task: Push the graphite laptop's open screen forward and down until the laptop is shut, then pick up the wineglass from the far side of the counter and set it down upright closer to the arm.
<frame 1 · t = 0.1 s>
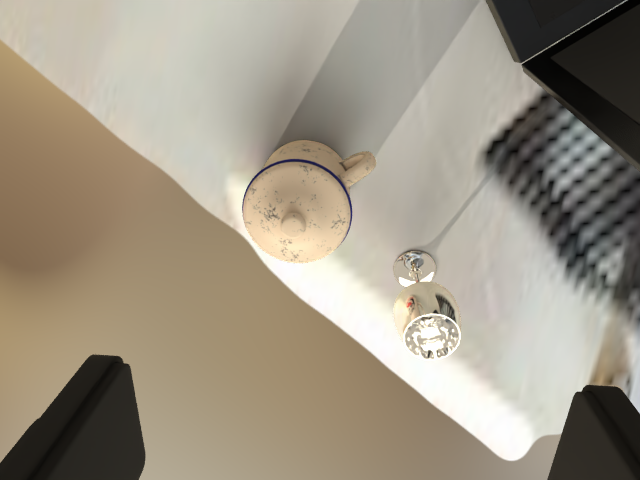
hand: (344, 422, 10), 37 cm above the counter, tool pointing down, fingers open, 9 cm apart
wineglass: (414, 268, 50), on the counter
teacup with lid: (318, 174, 47), on the counter
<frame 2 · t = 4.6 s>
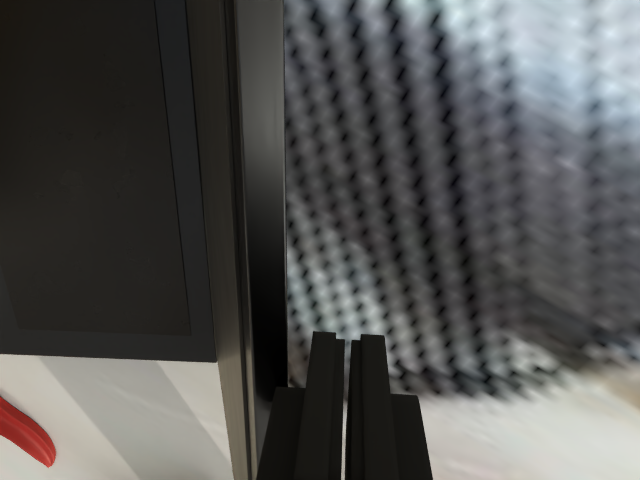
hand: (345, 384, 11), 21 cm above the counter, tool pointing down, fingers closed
laptop: (47, 152, 31), on the counter
cayenne pepper: (14, 415, 41), on the counter
laptop screen: (223, 227, 20), point 12 cm above the counter, hinge at 108.2°, touching gripper
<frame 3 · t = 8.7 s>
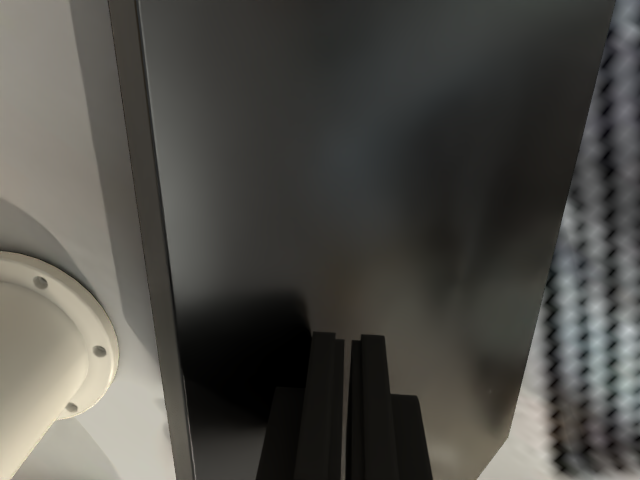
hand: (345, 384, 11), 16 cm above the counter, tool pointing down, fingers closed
laptop screen: (447, 277, 16), point 10 cm above the counter, hinge at 49.6°, touching gripper
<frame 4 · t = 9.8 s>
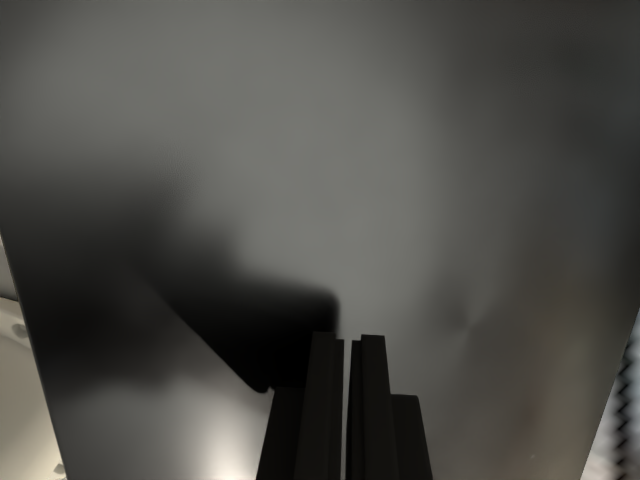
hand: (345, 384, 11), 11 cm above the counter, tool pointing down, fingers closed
laptop screen: (456, 319, 14), point 8 cm above the counter, hinge at 33.3°, touching gripper
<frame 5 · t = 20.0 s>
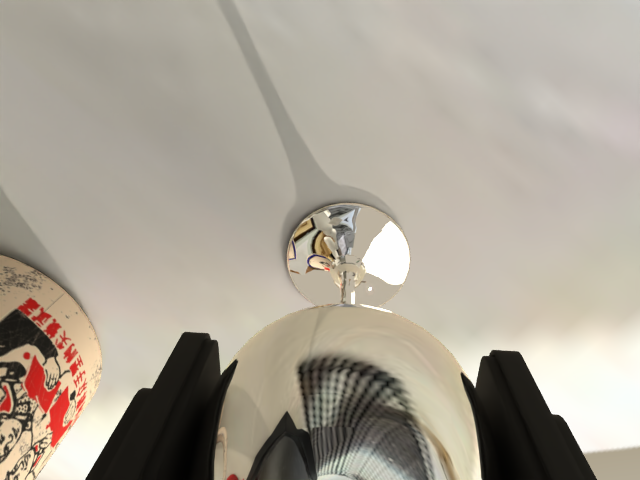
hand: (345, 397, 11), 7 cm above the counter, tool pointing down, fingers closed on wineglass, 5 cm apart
wineglass: (348, 258, 17), on the counter, touching gripper
when the fingers open (7 cm above the counter, at t = 27.8 s): wineglass stays where it is, on the counter.
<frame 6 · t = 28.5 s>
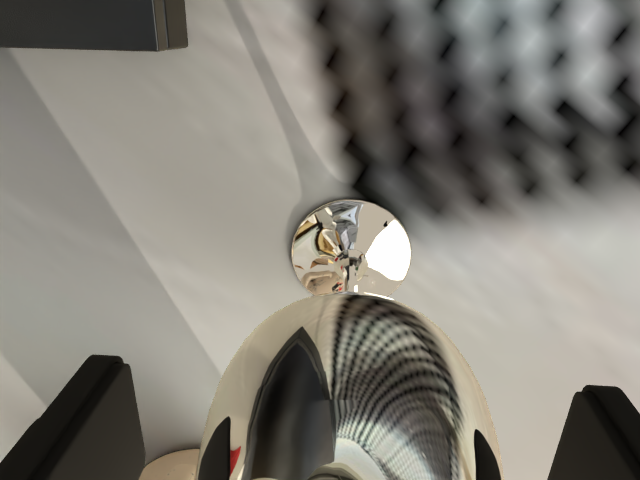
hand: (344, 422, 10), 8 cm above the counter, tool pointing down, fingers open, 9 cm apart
wineglass: (350, 252, 18), on the counter
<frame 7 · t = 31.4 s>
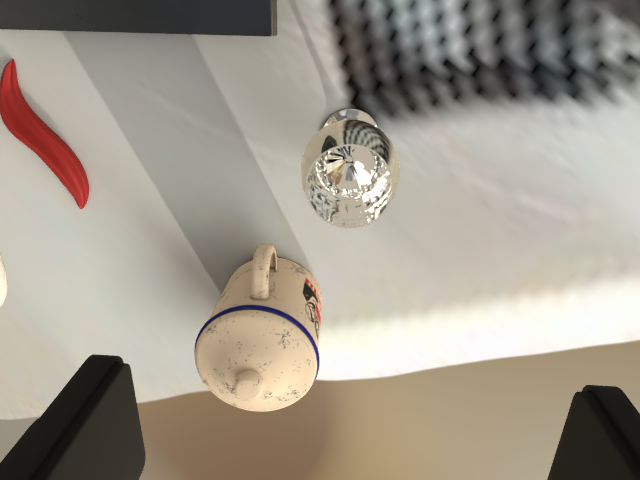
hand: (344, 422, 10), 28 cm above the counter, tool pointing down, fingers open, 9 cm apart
wineglass: (350, 138, 36), on the counter
cayenne pepper: (46, 139, 38), on the counter
teacup with lid: (274, 283, 42), on the counter
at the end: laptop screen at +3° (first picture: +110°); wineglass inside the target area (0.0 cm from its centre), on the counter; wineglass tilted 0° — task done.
